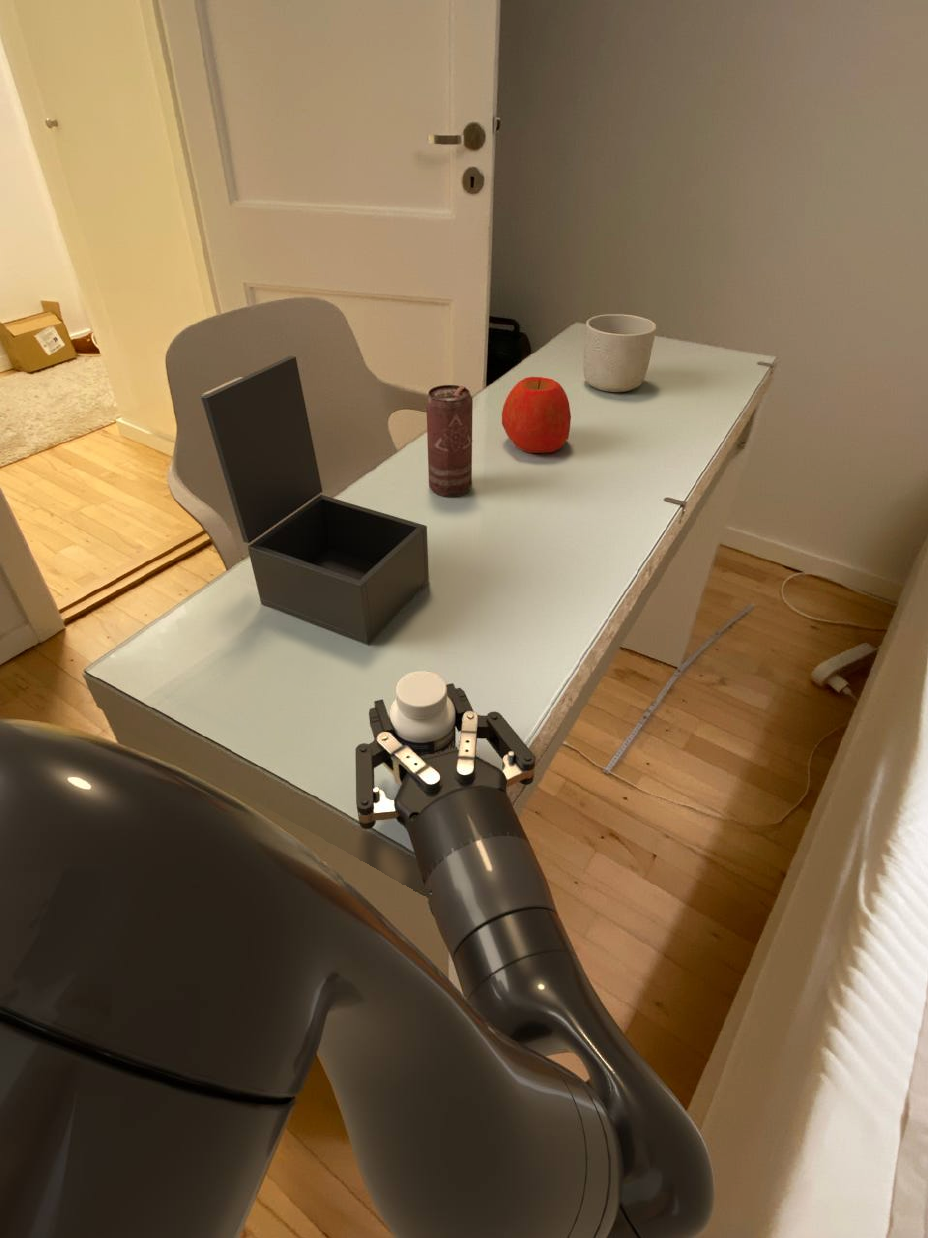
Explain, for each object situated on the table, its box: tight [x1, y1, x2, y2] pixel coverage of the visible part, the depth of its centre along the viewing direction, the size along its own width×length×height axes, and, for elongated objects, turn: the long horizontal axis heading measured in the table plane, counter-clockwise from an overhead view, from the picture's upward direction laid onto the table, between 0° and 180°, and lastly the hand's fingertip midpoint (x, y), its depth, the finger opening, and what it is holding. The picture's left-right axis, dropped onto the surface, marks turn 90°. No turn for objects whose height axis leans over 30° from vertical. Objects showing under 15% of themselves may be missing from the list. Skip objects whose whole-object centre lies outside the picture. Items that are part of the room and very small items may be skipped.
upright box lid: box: [200, 355, 324, 544], centre depth 72 cm, size 16×13×5 cm
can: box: [425, 384, 474, 498], centre depth 93 cm, size 6×6×14 cm
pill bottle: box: [388, 670, 457, 756], centre depth 56 cm, size 5×5×10 cm
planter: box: [582, 313, 657, 393], centre depth 125 cm, size 12×12×11 cm
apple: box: [501, 376, 572, 454], centre depth 105 cm, size 11×11×11 cm
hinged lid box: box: [247, 494, 430, 646], centre depth 76 cm, size 15×13×8 cm
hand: (414, 699), depth 57 cm, fingers closed on pill bottle, 5 cm apart
